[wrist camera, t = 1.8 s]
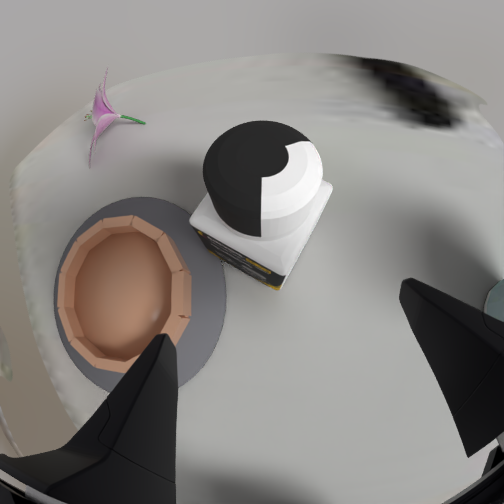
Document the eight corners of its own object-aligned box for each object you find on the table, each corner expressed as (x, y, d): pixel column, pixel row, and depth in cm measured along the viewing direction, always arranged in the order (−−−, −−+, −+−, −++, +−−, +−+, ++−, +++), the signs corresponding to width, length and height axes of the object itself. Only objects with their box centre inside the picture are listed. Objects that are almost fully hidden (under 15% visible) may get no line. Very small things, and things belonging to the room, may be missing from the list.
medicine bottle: (207, 251, 24) (160, 182, 12) (248, 188, 25) (238, 91, 14) (278, 292, 23) (295, 254, 11) (316, 223, 24) (355, 139, 13)
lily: (126, 100, 32) (73, 81, 24) (178, 76, 26) (115, 43, 18) (107, 176, 33) (48, 165, 25) (157, 169, 27) (79, 149, 19)
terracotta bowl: (148, 397, 21) (137, 402, 19) (55, 314, 23) (42, 313, 21) (220, 265, 23) (215, 259, 21) (111, 204, 26) (101, 195, 24)
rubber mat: (164, 435, 20) (162, 437, 20) (36, 321, 24) (34, 320, 23) (267, 252, 24) (267, 251, 23) (112, 174, 28) (110, 173, 27)
